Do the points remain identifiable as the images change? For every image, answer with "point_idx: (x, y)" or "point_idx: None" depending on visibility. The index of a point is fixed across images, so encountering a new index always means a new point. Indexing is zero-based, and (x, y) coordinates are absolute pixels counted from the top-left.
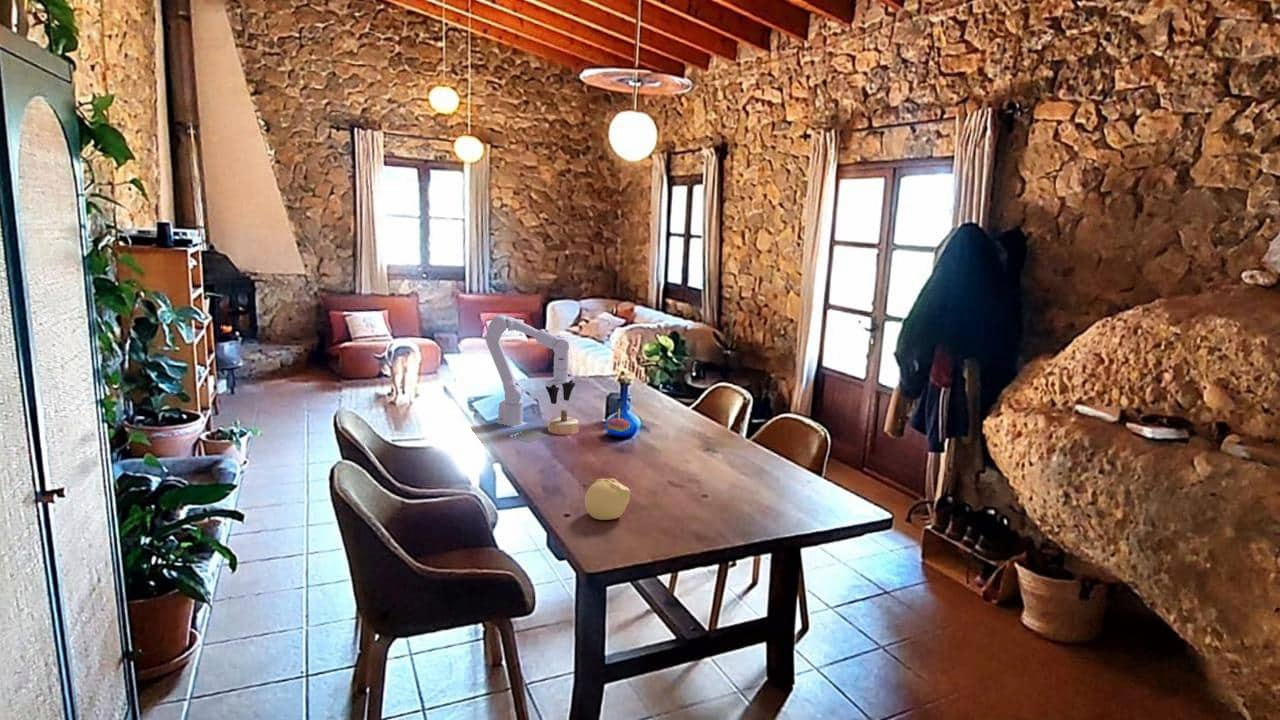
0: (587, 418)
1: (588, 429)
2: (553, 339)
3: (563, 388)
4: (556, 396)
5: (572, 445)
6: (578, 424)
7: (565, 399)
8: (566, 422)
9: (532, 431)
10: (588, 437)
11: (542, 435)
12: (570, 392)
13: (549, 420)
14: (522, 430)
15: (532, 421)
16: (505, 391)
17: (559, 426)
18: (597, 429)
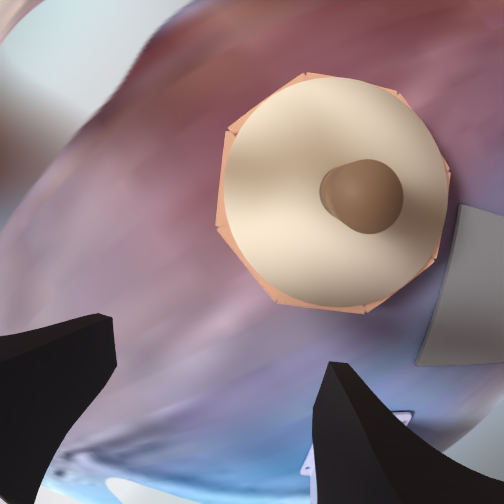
0: (52, 223)
1: (207, 83)
2: None
3: (48, 455)
4: (374, 420)
5: (485, 48)
6: (314, 74)
7: (111, 350)
8: (377, 148)
9: (443, 321)
10: (346, 15)
11: (479, 238)
12: (24, 338)
13: (362, 308)
14: (443, 364)
15: (267, 416)
16: None
17: (447, 166)
18: (178, 50)
